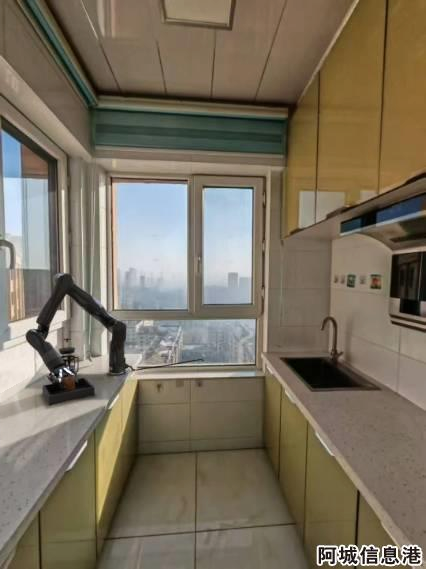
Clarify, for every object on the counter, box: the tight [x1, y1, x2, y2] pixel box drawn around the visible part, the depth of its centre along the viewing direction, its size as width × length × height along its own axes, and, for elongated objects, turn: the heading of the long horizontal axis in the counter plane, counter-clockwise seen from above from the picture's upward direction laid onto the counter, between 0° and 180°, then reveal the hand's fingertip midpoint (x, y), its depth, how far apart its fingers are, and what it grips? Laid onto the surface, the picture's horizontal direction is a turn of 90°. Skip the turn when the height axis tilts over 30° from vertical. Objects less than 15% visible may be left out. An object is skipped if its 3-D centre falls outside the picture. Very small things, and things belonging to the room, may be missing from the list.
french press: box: [58, 337, 80, 380], centre depth 168 cm, size 12×9×23 cm
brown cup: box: [62, 374, 76, 393], centre depth 142 cm, size 6×6×9 cm
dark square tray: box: [41, 377, 95, 406], centre depth 142 cm, size 20×17×5 cm
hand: (70, 386), depth 141 cm, fingers open, 7 cm apart
